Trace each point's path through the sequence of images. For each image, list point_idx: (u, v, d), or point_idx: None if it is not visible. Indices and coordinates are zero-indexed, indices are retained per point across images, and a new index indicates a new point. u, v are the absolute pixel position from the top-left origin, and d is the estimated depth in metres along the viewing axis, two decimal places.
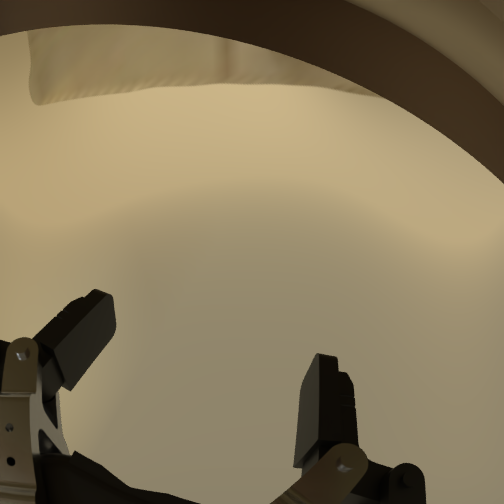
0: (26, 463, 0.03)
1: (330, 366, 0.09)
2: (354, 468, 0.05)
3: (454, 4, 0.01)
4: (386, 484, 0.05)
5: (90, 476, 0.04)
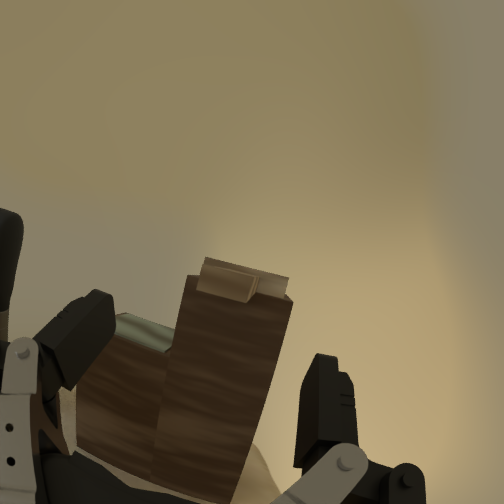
0: (26, 463, 0.03)
1: (330, 366, 0.09)
2: (354, 468, 0.05)
3: None
4: (386, 484, 0.05)
5: (90, 476, 0.04)
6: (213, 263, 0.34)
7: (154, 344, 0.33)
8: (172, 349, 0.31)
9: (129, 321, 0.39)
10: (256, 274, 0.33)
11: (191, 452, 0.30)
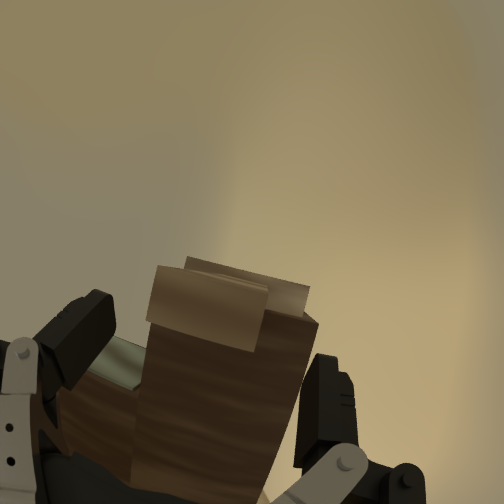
0: (25, 463, 0.03)
1: (330, 366, 0.09)
2: (354, 468, 0.05)
3: None
4: (386, 484, 0.05)
5: (90, 476, 0.04)
6: (199, 265, 0.23)
7: (120, 377, 0.22)
8: (141, 388, 0.20)
9: None
10: (262, 282, 0.22)
11: None
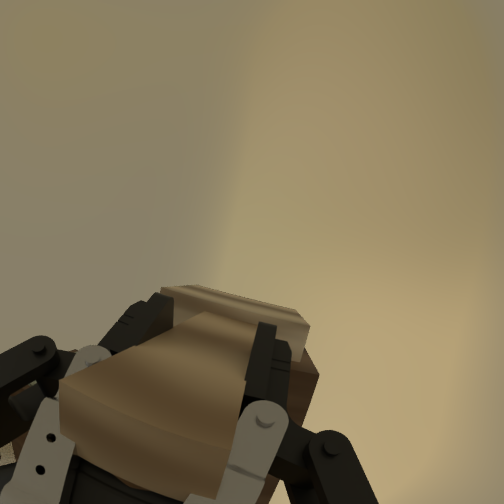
0: (56, 478, 0.03)
1: (268, 332, 0.10)
2: (271, 425, 0.06)
3: None
4: (309, 456, 0.06)
5: (90, 476, 0.04)
6: (176, 299, 0.18)
7: None
8: None
9: None
10: (251, 320, 0.18)
11: None
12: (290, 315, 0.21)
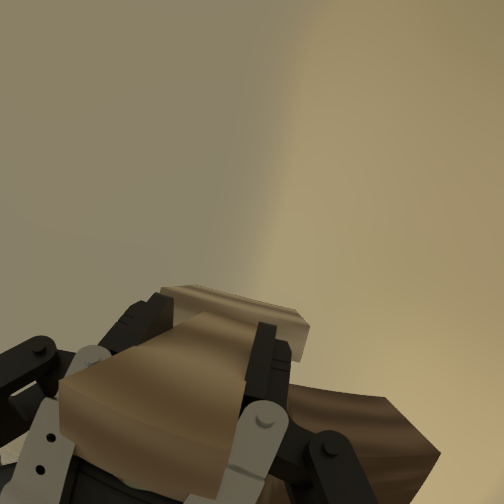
0: (56, 478, 0.03)
1: (268, 332, 0.10)
2: (271, 425, 0.06)
3: None
4: (309, 456, 0.06)
5: (90, 476, 0.04)
6: (175, 299, 0.18)
7: None
8: None
9: None
10: (251, 321, 0.18)
11: None
12: (290, 315, 0.21)
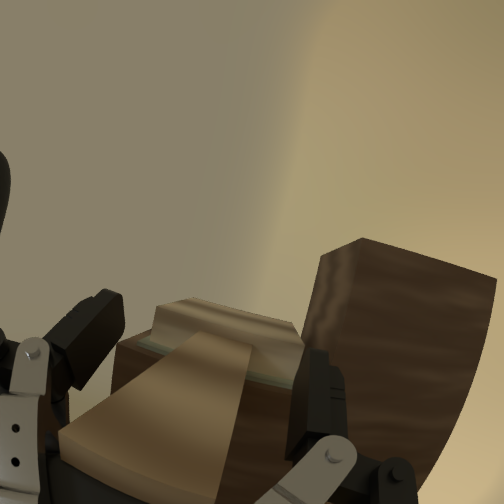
0: (31, 465, 0.03)
1: (321, 360, 0.09)
2: (342, 460, 0.05)
3: None
4: (375, 479, 0.05)
5: (90, 476, 0.04)
6: (171, 318, 0.18)
7: (275, 377, 0.17)
8: None
9: None
10: (246, 340, 0.18)
11: None
12: (286, 332, 0.21)
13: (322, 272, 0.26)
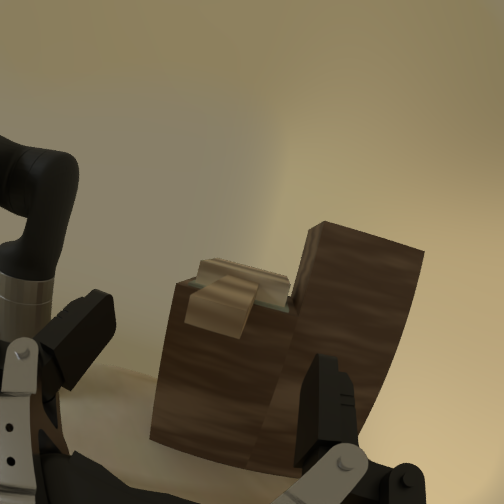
0: (25, 462, 0.03)
1: (330, 366, 0.09)
2: (354, 468, 0.05)
3: None
4: (386, 484, 0.05)
5: (90, 476, 0.04)
6: (209, 267, 0.31)
7: (272, 304, 0.30)
8: (303, 307, 0.28)
9: None
10: (255, 280, 0.31)
11: None
12: (280, 278, 0.34)
13: (307, 241, 0.39)
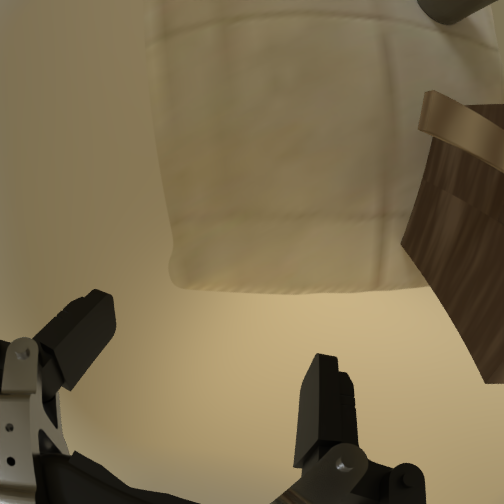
0: (26, 463, 0.03)
1: (330, 366, 0.09)
2: (354, 468, 0.05)
3: None
4: (386, 484, 0.05)
5: (90, 476, 0.04)
6: None
7: None
8: (502, 226, 0.19)
9: None
10: None
11: (435, 225, 0.34)
12: None
13: None
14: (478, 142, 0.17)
